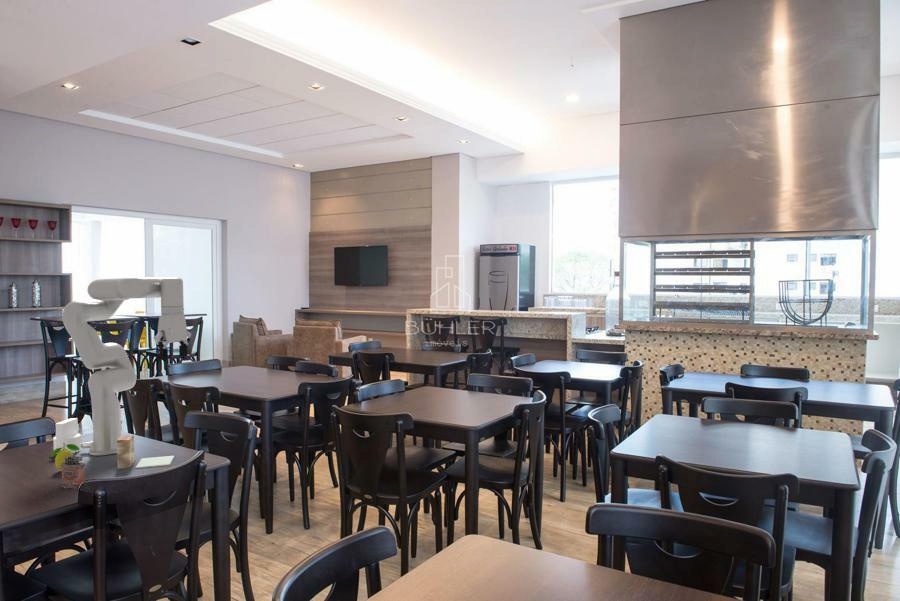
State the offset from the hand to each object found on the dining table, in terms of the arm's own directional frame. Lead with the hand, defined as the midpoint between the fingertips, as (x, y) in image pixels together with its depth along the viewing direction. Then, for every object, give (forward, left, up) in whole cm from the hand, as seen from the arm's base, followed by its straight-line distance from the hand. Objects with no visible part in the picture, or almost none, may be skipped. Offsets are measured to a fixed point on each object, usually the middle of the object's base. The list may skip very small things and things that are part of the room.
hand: (173, 357), depth 220 cm
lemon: (-35, -4, -38) cm, 51 cm away
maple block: (-16, -4, -37) cm, 41 cm away
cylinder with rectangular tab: (-42, +23, -38) cm, 61 cm away
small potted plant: (-27, -24, -38) cm, 52 cm away
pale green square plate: (-6, -4, -37) cm, 38 cm away
